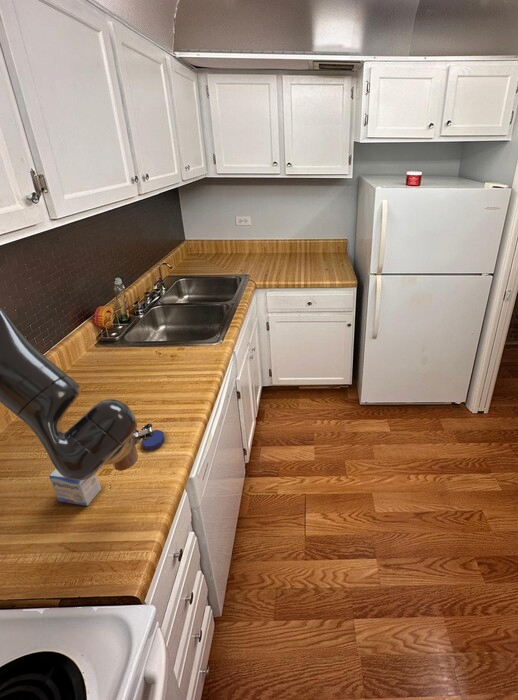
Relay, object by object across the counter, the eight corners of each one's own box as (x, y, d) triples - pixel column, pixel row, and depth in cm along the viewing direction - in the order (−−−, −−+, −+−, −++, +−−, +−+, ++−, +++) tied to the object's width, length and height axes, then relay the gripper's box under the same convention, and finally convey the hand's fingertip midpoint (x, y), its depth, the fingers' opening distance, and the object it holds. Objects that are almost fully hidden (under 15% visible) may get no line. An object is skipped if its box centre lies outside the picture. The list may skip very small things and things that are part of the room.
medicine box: (58, 502, 78) (47, 476, 75) (73, 484, 82) (63, 459, 79) (87, 506, 77) (78, 481, 74) (102, 488, 81) (93, 463, 78)
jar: (118, 475, 73) (108, 439, 69) (109, 462, 76) (99, 427, 72) (141, 459, 76) (133, 425, 73) (132, 448, 80) (123, 414, 76)
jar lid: (138, 447, 92) (137, 443, 92) (152, 432, 98) (151, 428, 97) (155, 452, 91) (154, 448, 90) (169, 436, 96) (168, 432, 95)
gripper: (149, 406, 66) (152, 415, 80) (61, 436, 59) (81, 440, 73) (158, 445, 63) (159, 447, 77) (66, 481, 56) (86, 476, 70)
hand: (121, 444), depth 75 cm, fingers closed on jar, 5 cm apart
